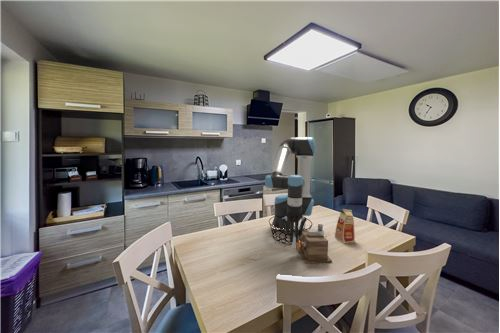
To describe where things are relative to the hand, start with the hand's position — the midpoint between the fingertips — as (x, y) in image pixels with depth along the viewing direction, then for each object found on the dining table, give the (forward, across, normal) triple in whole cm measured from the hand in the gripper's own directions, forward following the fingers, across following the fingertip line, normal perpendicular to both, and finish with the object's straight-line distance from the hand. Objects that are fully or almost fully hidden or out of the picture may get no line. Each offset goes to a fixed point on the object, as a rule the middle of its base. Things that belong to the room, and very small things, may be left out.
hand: (293, 247), depth 116 cm
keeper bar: (-7, +12, 0) cm, 14 cm away
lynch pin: (+1, +10, 0) cm, 10 cm away
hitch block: (+4, +11, 0) cm, 12 cm away
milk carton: (+5, +38, +18) cm, 42 cm away
